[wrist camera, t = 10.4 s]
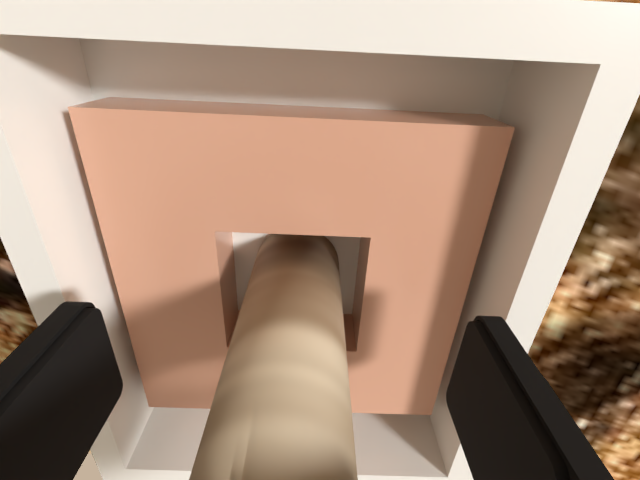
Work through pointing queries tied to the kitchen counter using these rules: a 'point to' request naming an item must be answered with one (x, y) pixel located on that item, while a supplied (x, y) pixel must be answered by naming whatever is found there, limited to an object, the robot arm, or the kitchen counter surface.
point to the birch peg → (284, 374)
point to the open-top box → (323, 91)
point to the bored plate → (290, 228)
